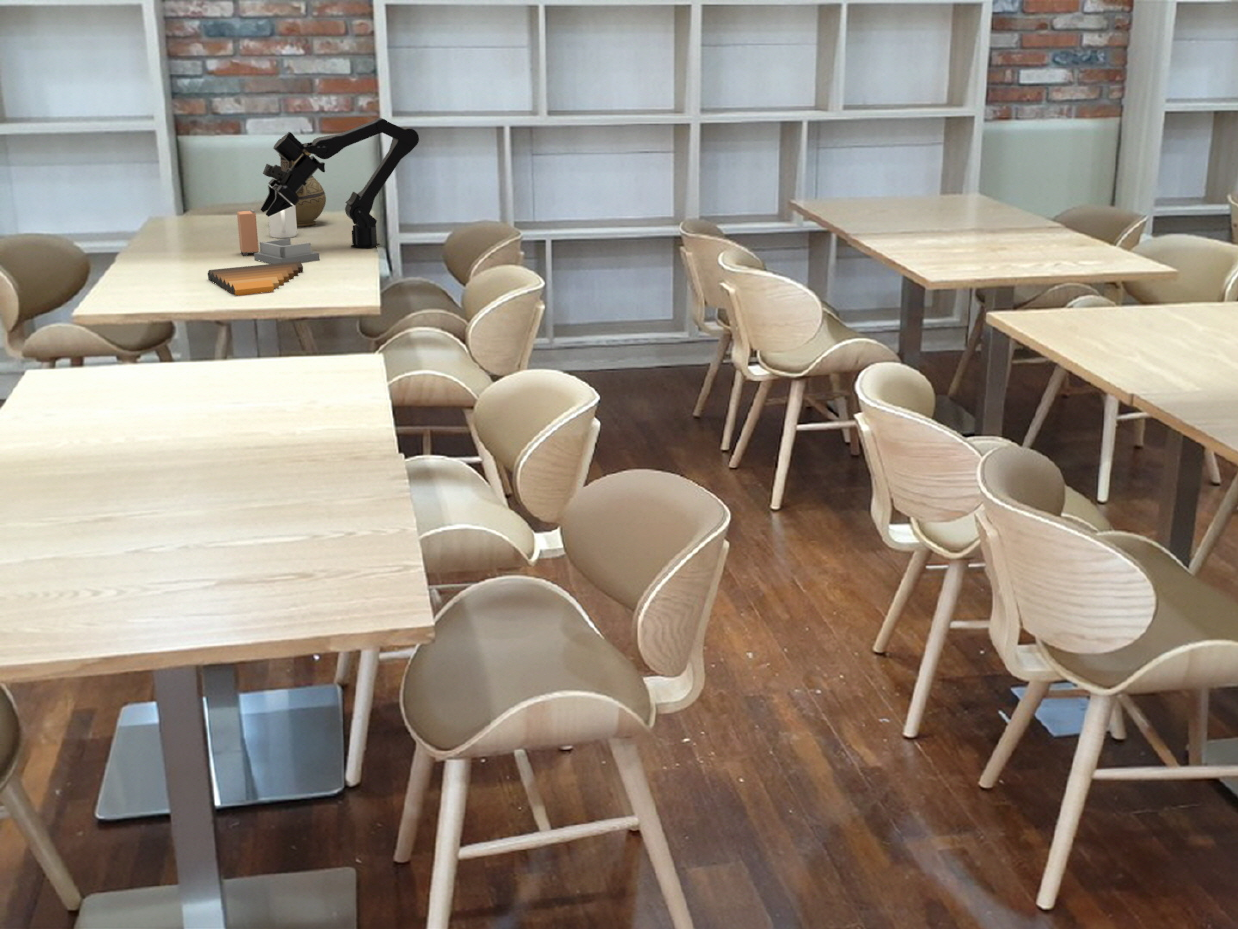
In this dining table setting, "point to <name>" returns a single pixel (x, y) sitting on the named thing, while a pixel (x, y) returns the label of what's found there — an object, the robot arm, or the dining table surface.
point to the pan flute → (255, 277)
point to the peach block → (247, 232)
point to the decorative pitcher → (307, 197)
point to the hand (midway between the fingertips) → (264, 213)
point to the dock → (285, 252)
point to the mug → (283, 223)
